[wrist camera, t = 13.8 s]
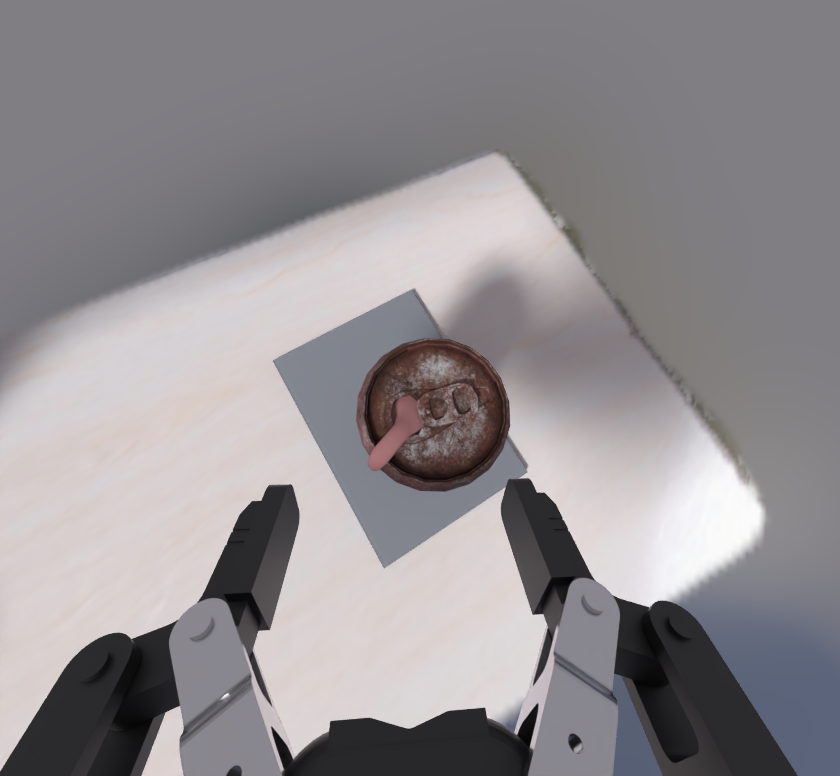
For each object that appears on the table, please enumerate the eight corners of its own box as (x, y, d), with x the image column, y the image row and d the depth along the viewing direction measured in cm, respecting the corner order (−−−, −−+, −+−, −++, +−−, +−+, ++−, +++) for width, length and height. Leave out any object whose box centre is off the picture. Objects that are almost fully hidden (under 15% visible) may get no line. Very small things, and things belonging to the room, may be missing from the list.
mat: (384, 566, 24) (383, 568, 23) (274, 362, 26) (272, 360, 26) (525, 471, 26) (527, 472, 25) (411, 292, 28) (411, 289, 28)
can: (358, 443, 25) (311, 425, 11) (410, 381, 26) (424, 299, 13) (419, 493, 24) (447, 540, 11) (469, 428, 26) (550, 396, 12)
